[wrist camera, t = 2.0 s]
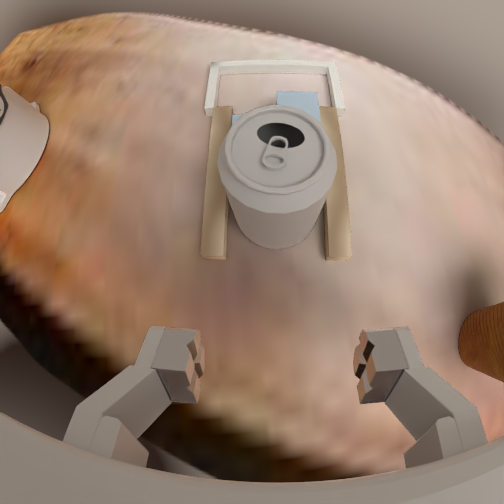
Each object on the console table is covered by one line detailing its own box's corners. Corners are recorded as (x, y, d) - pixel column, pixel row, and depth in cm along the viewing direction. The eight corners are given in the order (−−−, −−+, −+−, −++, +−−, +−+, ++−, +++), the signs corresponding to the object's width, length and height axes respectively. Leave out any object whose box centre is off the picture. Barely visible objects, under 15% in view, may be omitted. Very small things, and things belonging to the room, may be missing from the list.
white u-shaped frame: (206, 116, 31) (204, 108, 29) (213, 70, 33) (211, 62, 31) (342, 116, 30) (344, 108, 28) (333, 70, 31) (335, 62, 30)
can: (321, 184, 28) (347, 107, 17) (308, 259, 27) (335, 216, 15) (246, 170, 29) (230, 88, 17) (227, 242, 28) (196, 190, 16)
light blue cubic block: (277, 144, 30) (277, 122, 26) (276, 114, 30) (276, 91, 27) (316, 145, 29) (321, 123, 25) (313, 115, 30) (317, 92, 26)
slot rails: (204, 259, 28) (200, 255, 26) (215, 115, 31) (213, 107, 29) (347, 260, 27) (351, 256, 25) (333, 116, 30) (336, 107, 28)
